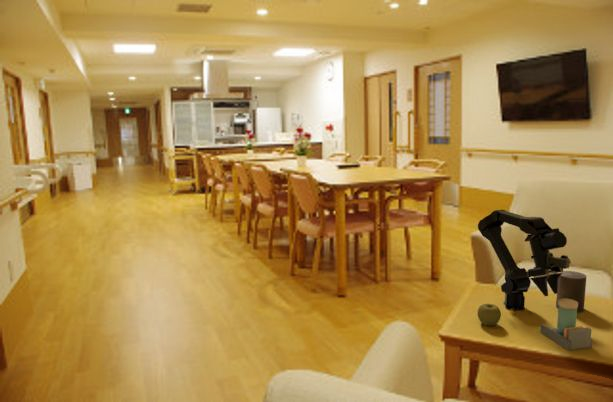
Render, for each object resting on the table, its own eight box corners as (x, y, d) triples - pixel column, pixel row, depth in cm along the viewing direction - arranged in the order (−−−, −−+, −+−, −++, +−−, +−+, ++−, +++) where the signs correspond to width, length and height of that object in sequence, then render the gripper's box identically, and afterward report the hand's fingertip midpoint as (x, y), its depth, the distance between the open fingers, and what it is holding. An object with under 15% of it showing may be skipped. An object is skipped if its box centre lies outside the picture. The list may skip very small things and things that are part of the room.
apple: (497, 330, 173) (498, 311, 172) (474, 325, 177) (475, 307, 176) (502, 322, 179) (503, 304, 178) (479, 318, 183) (480, 300, 182)
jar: (554, 339, 164) (556, 302, 162) (557, 332, 169) (560, 297, 167) (573, 343, 161) (576, 306, 158) (576, 337, 165) (579, 301, 163)
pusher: (563, 342, 161) (564, 328, 160) (580, 340, 163) (581, 326, 162) (565, 343, 160) (566, 329, 159) (582, 341, 162) (583, 327, 161)
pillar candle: (581, 314, 184) (585, 276, 181) (553, 309, 190) (556, 272, 187) (585, 306, 191) (588, 270, 189) (558, 301, 197) (561, 265, 195)
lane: (540, 331, 171) (541, 314, 170) (561, 329, 173) (563, 311, 171) (568, 350, 157) (570, 331, 156) (592, 347, 159) (593, 329, 158)
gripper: (554, 248, 165) (566, 294, 162) (572, 246, 178) (583, 289, 175) (521, 254, 173) (532, 298, 170) (541, 252, 186) (552, 293, 183)
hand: (551, 294), depth 174 cm, fingers open, 9 cm apart
